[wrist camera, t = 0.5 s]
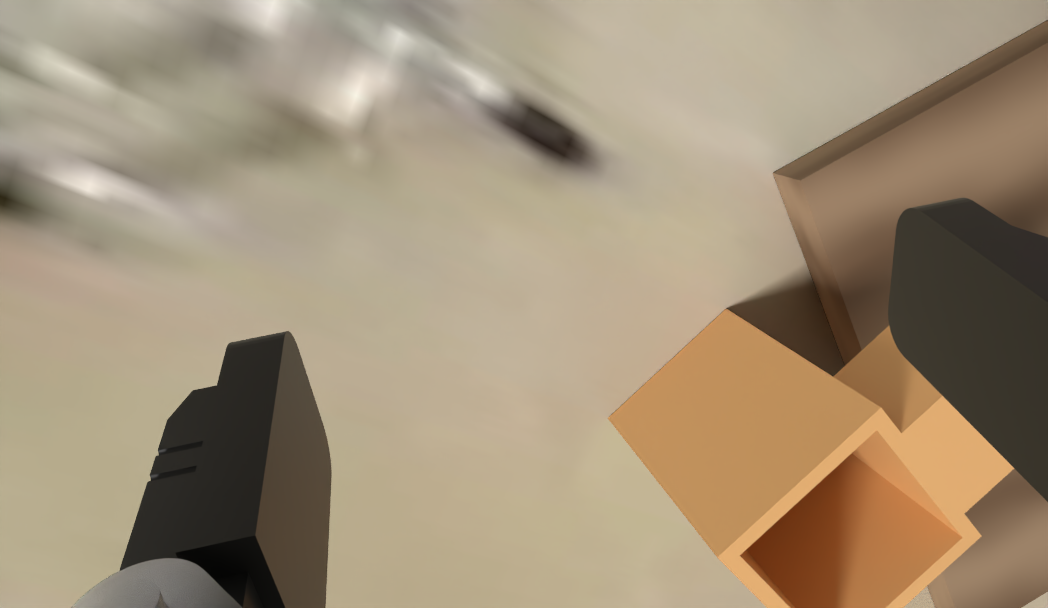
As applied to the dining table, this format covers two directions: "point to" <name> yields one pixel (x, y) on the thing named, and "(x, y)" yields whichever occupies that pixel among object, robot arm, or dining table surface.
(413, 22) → the dining table surface
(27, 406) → the dining table surface
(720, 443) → the open-top tan box
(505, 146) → the dining table surface
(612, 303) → the dining table surface
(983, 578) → the mount board
